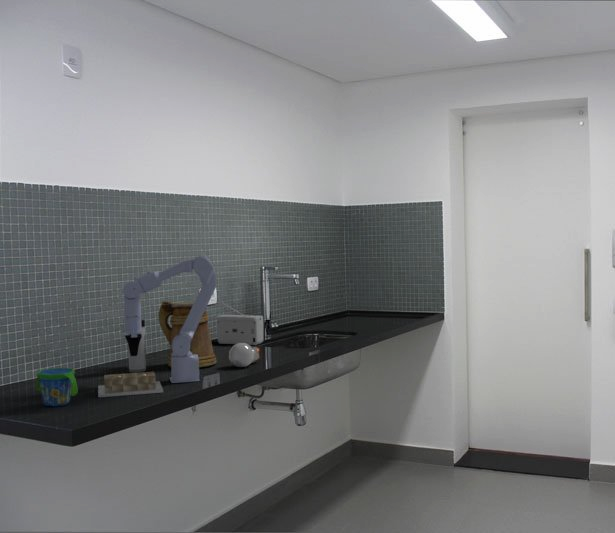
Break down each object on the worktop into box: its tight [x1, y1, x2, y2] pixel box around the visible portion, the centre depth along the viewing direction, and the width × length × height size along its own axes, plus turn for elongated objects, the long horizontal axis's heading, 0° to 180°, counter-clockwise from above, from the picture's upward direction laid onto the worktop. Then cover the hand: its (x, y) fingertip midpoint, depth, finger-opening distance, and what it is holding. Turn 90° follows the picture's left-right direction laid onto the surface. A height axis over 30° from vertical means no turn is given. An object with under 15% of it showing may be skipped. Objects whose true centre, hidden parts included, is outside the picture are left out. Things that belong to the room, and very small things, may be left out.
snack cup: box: [35, 367, 79, 407], centre depth 217 cm, size 16×10×10 cm
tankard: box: [158, 300, 217, 368], centre depth 279 cm, size 18×24×25 cm
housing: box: [103, 371, 157, 392], centre depth 235 cm, size 16×7×4 cm, turn 106°
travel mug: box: [127, 319, 147, 373], centre depth 269 cm, size 6×7×20 cm
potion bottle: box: [228, 343, 262, 368], centre depth 276 cm, size 9×10×15 cm
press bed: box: [97, 380, 164, 398], centre depth 235 cm, size 20×14×1 cm
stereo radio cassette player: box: [216, 300, 264, 347], centre depth 332 cm, size 21×8×20 cm, turn 69°
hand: (133, 355), depth 247 cm, fingers closed
